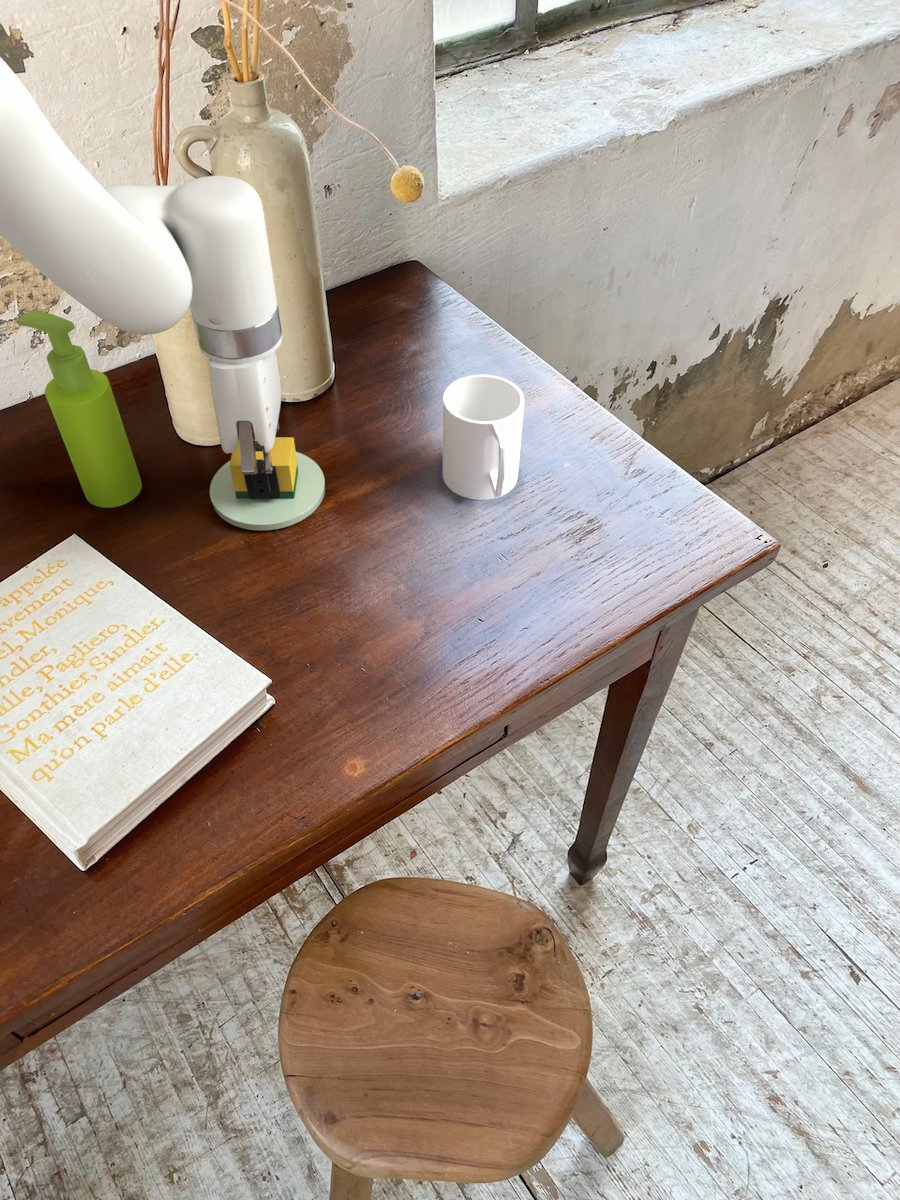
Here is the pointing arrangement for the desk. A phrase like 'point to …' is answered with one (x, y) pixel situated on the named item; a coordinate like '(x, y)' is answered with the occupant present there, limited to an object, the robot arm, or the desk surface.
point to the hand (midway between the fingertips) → (267, 479)
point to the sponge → (281, 458)
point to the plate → (269, 510)
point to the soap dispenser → (87, 417)
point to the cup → (482, 436)
